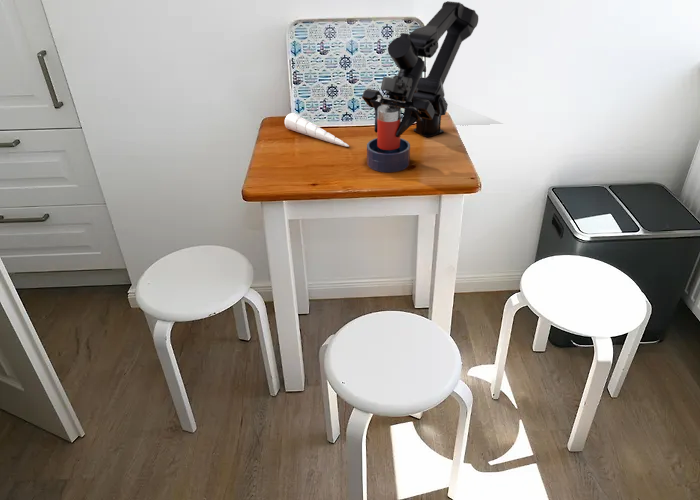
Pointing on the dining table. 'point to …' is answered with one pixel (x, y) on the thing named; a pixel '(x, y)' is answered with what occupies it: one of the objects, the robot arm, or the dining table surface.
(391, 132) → the tin
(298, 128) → the unicorn horn
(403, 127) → the robot arm
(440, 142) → the dining table surface
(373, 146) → the pot
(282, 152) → the dining table surface
